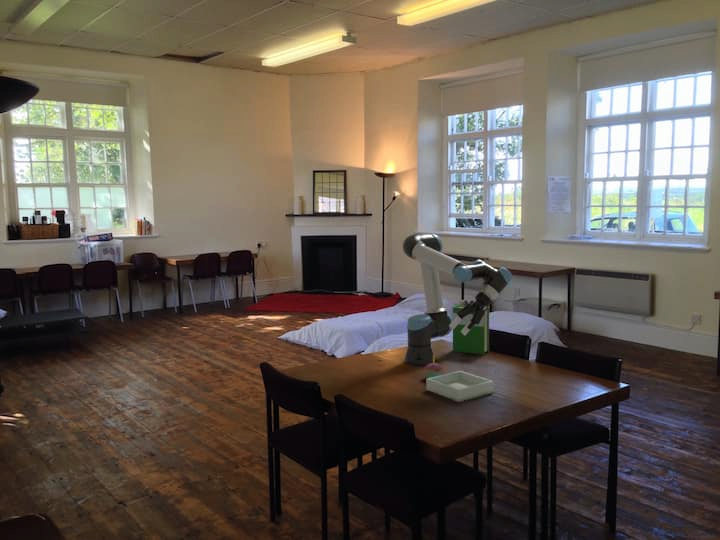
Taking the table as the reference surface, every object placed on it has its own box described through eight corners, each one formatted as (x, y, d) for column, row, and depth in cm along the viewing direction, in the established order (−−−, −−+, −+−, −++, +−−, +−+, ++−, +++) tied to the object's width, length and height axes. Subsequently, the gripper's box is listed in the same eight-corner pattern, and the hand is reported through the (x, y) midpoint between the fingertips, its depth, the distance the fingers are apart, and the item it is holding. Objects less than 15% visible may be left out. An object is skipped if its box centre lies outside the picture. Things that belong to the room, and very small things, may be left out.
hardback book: (488, 351, 327) (489, 307, 324) (484, 354, 320) (484, 309, 318) (458, 347, 336) (458, 305, 333) (452, 350, 330) (452, 307, 327)
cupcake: (443, 381, 276) (443, 355, 274) (424, 380, 277) (424, 355, 276) (443, 375, 284) (443, 350, 283) (425, 375, 286) (425, 350, 284)
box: (426, 390, 264) (426, 378, 263) (460, 381, 275) (460, 370, 274) (458, 402, 247) (458, 390, 247) (493, 392, 259) (493, 381, 258)
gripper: (504, 305, 271) (473, 341, 269) (479, 297, 295) (451, 330, 293) (493, 294, 269) (462, 330, 267) (469, 287, 293) (441, 320, 291)
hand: (456, 330), depth 280 cm, fingers open, 13 cm apart
